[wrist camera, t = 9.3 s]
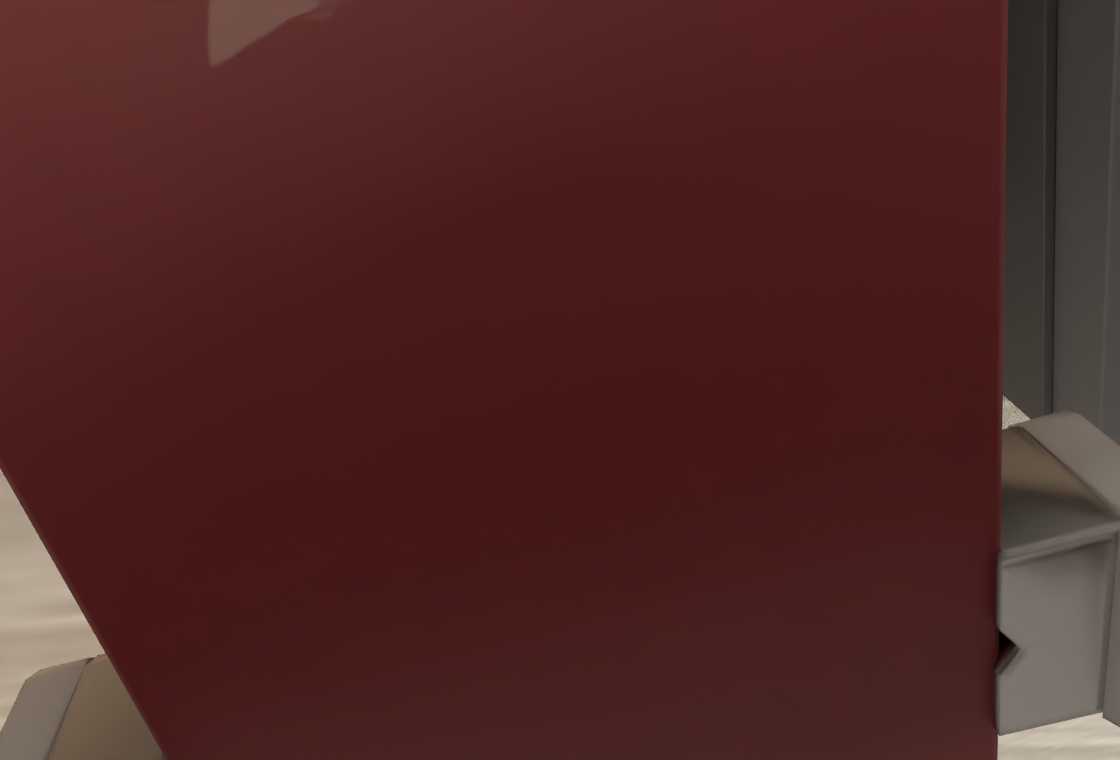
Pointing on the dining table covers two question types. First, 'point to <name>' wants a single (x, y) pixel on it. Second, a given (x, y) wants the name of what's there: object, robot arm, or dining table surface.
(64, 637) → the dining table surface
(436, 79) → the red rectangular block
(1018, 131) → the grey books
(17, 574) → the dining table surface
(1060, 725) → the dining table surface
